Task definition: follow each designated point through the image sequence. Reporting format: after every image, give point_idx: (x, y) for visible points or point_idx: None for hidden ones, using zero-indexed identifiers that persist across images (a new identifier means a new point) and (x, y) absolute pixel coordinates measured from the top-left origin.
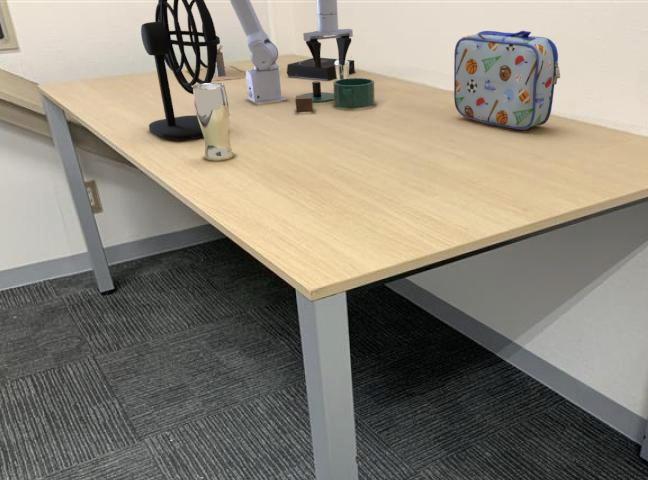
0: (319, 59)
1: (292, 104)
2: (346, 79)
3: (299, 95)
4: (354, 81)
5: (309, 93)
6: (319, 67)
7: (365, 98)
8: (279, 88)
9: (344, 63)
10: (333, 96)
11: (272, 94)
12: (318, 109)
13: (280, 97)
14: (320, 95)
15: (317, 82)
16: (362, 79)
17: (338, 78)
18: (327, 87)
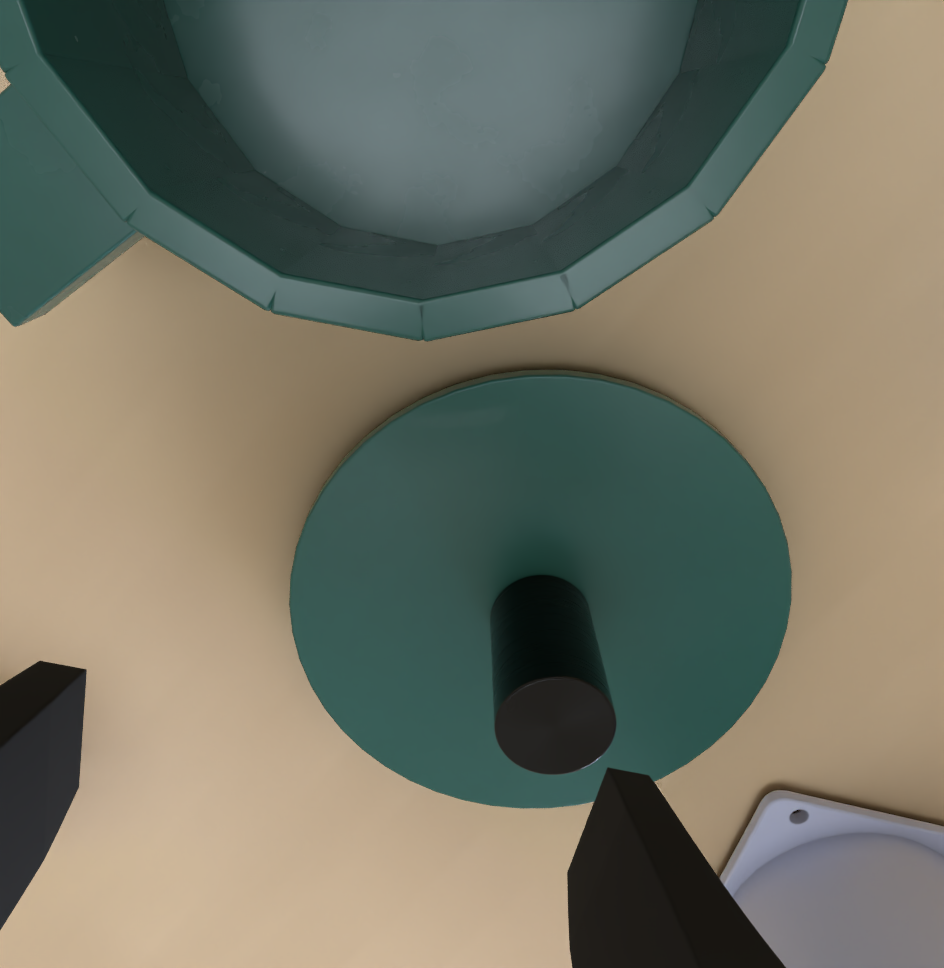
0: (695, 890)
1: (848, 641)
2: (309, 275)
3: None
4: (169, 190)
5: (487, 785)
6: (640, 778)
7: None
8: (840, 937)
9: (25, 671)
10: (406, 474)
11: (934, 887)
12: (900, 204)
13: (799, 857)
14: (530, 582)
15: (563, 698)
16: (34, 18)
17: None
18: (58, 948)
